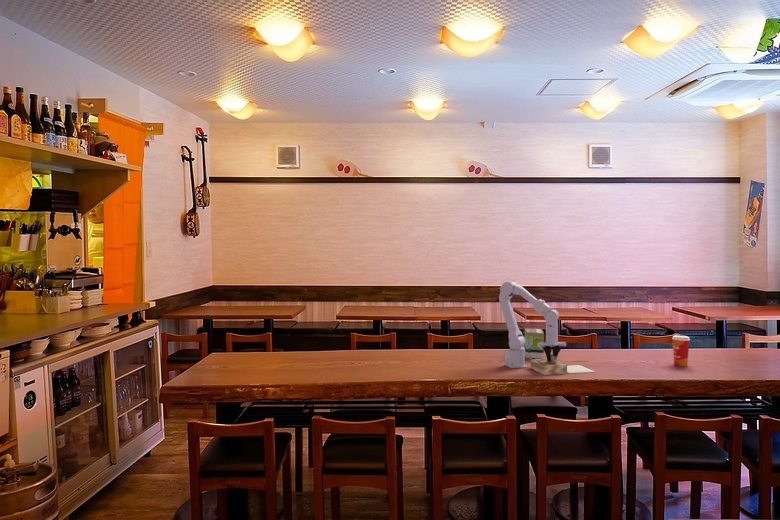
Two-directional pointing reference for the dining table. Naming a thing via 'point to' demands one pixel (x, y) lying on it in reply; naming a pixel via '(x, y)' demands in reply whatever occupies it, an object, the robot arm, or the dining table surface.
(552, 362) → the lid
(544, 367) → the case
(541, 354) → the tea box
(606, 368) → the dining table surface
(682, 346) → the coffee cup
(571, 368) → the mat
